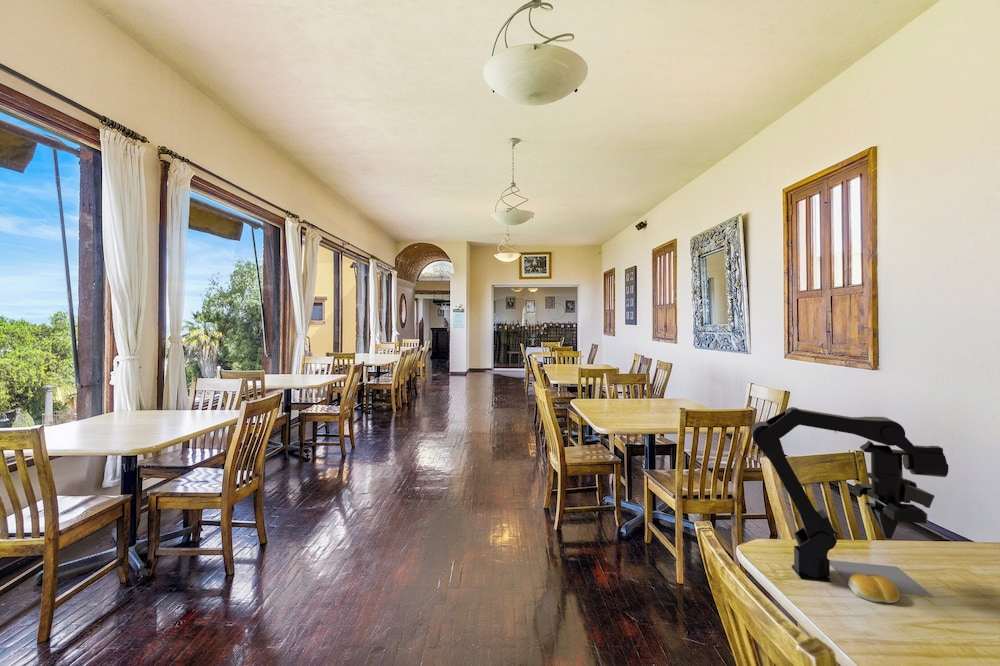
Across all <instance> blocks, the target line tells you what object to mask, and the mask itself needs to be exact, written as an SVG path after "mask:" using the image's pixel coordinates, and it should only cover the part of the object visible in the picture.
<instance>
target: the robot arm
mask: <svg viewBox="0 0 1000 666" xmlns="http://www.w3.org/2000/svg"><path fill="white" fill-rule="evenodd" d="M798 426H804V427H808V428H814V429H815V428H817V429H823V430H828V431H834V432H840V433H844V434H845V433H846V434H852V435H855V436H857V437H858V436H859V437H861V438H864V439H866V440H867V439H868V440H867V441H866V442H865V443H864V444H862V445H860V446H859V449H860V450H862V452H864V453H868V454H869V453H870V472H867V473H866V477H867V478H869V479H870V481H871V482H870V483H861V482H860V483H856V484H854V485H853V486H852V493H853V495H855V496H856V497H857V498H862V497H863V496H866V497H867V498H868V502H865V506H867V508H868V510H869V512H870V514H871V515H872V517H873V519H874V521H875V522H876V524H877V527H878V528H879V530H880V532H881V534H882V536H883V537H884V538H885V539H886V540H892V539H893V538H892V537H893V536H894V533H895V531H896V529H897V526H898V524H899V523H910V524H911V523H912V524H924V525H925V524H928V513H927V512H926V511H924V510H923V509H922V508H921V507H918V506H916V505H915V504H911V502H914V503H916V504H919V505H921V506H923V507H925V508H927V509H930V508H931V505H932V504H933V501H934V500H935V495H934V494H933V493H930V492H929V491H926V490H924V489H921V488H919V487H918V484H917V483H916V482H915V481H912V480H910V479H907V478H904V477H903V476H904V474H903V467H904V469H905V470H908V471H909V473H910V474H911V475H913V476H925V477H926V476H927V477H937V478H947V476H948V474H949V463H948V462H947V459H946V455H945V454H944V449H943V447H941V446H939V445H915V444H913V443H912V442H911V441H910V440H909V439H908V438H907V437H906V430H905V428H904V427H903V426H902V425H901V424H900V423H898V422H897V421H894V420H892V419H890V418H888V417H885V416H860V417H859V416H855V417H854V416H846V415H840V414H835V413H834V414H833V413H826V412H820V411H816V410H815V411H814V410H809V409H808V410H807V409H801V408H798V407H795V406H794V407H793V406H791V407H788V408H786V409H785V410H784V411H782V412H780V413H779V414H776V415H775V416H772V417H769V418H768V419H767V420H766V421H759V422H755V423H754V424H753V425H752V426H751V429H750V433H751V437H752V438H753V442H754V443H755V445H756V446H757V448H759V450H760V451H761V452H762V453H763V454H764V456H765V457H766V458H767V459H768V460H769V461H770V463H771V465H772V466H773V468H774V470H775V472H776V473H777V476H778V477H779V479H780V481H781V483H782V484H783V486H784V488H785V491H787V494H788V496H789V497H790V499H791V501H792V503H793V504H794V506H795V508H796V510H797V513H798V515H799V519H800V521H801V525H802V527H801V528H800V529H798V530H797V531H795V532H794V533H793V536H794V538H795V540H796V543H797V545H794V546H793V559H794V561H793V564H792V565H791V568H792V570H793V571H794V572H795V574H797V576H798V578H800V579H801V580H806V581H813V582H814V581H815V582H825V583H831V582H832V581H831V578H829V577H830V575H831V573H830V572H831V569H830V567H831V565H830V560H831V559H829V558H828V554H829V552H830V550H833V549H834V548H835V547H836V545H837V542H838V539H837V537H836V535H838V531H836V529H835V527H834V526H833V524H832V522H831V521H830V518H829V516H828V515H827V513H826V511H825V510H824V509H822V508H821V509H820V510H818V509H816V507H815V506H814V505H813V504H812V502H811V500H810V499H809V497H808V495H807V493H806V491H805V490H804V488H803V486H802V484H801V482H800V481H799V479H798V477H797V475H796V474H795V471H794V470H793V468H792V466H791V465H790V463H789V461H788V460H787V459H788V458H786V455H785V451H784V448H783V445H782V442H781V440H780V439H781V438H783V437H785V436H786V435H787V434H788V433H790V432H791V431H792V430H793V429H795V428H797V427H798ZM873 442H876V443H879V444H874V443H873ZM891 446H892V447H894V446H895V447H898V448H899V449H894V448H893V449H892V448H891Z"/></svg>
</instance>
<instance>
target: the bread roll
mask: <svg viewBox="0 0 1000 666" xmlns="http://www.w3.org/2000/svg"><path fill="white" fill-rule="evenodd" d="M847 585H848V587H849V589H851V590H850V591H852V592H853V593H854V594H855V595H856V596H857V597H859V598H861V599H864V600H866V601H869V602H874V603H887V604H888V603H889V604H894V603H896V602H898V600H899V599H900V594H901V593H899V590H898V588H897V586H896V585H895V584H894V583H893V582H892V581H891V580H889V579H888V578H886V577H883V576H879V575H873V574H869V575H863V574H857V573H856V574H853V575H851V576H850V578H849V583H847Z"/></svg>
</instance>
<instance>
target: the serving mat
mask: <svg viewBox="0 0 1000 666" xmlns="http://www.w3.org/2000/svg"><path fill="white" fill-rule="evenodd" d="M829 560H830V567H831V568H833V570H834V571H835V572H836V573H837V574H838V575H839V576H840V577H841V578H842V579H843V580H844V581H846V583H847V584H848V583H849V578H850V576H851V575H853V574H856V573H857V574H863V575H869V574H873V575H879V576H883V577H886V578H888V579H889V580H891V581H892V582H893V583H894V584H895V585H896V586H897V588H898V590H899V594H903V595H904V594H906V595H913V596H914V595H915V596H922V597H933V598H934V595H933V594H931V593H930V592H929V591H928V590H927V589H925V588H924V587H923V586H922V585H920V584H919V583H918V582H916V580H914V579H913V578H912V577H910V575H908V574H907V573H906V572H904V570H902V569H900V568H899V566H897V565H884V564H875V563H874V564H873V563H863V562H853V561H851V562H850V561H842V560H833V559H832V560H831V559H829Z"/></svg>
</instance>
